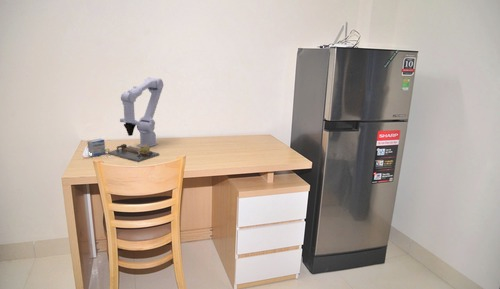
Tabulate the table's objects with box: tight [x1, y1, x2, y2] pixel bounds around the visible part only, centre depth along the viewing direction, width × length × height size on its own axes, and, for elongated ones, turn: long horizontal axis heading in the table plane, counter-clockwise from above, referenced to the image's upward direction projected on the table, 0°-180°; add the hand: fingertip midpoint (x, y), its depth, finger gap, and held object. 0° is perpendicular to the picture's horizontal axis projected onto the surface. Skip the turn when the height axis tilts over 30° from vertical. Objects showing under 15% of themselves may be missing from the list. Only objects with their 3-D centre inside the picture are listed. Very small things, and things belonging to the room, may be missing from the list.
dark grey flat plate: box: [107, 145, 160, 163], centre depth 191 cm, size 16×25×1 cm, turn 61°
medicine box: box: [86, 138, 106, 158], centre depth 186 cm, size 8×4×9 cm, turn 149°
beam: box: [116, 143, 153, 156], centre depth 189 cm, size 6×23×3 cm, turn 61°
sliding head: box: [138, 145, 151, 156], centre depth 186 cm, size 7×3×5 cm, turn 151°
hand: (130, 135), depth 194 cm, fingers closed
